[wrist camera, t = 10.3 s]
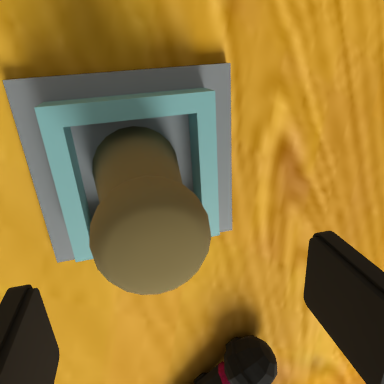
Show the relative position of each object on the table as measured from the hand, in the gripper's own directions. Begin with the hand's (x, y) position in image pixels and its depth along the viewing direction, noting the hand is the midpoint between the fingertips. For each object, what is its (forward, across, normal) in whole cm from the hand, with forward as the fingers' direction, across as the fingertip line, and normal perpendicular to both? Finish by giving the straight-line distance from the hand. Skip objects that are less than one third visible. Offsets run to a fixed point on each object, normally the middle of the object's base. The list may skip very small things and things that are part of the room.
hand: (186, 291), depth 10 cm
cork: (+13, +1, 0) cm, 13 cm away
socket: (+14, +1, 0) cm, 14 cm away
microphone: (+14, -1, +25) cm, 29 cm away
